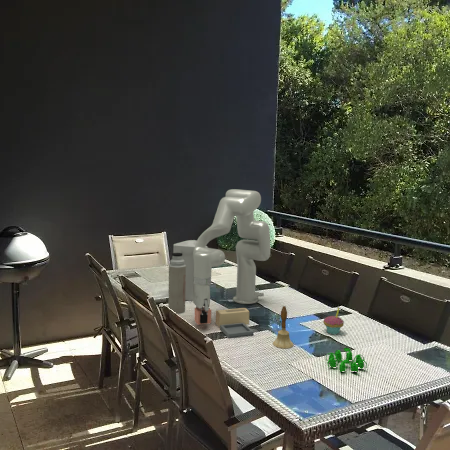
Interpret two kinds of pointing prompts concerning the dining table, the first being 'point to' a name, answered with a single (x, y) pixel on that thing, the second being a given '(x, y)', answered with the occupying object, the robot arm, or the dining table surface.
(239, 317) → the tan slotted block
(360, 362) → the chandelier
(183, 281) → the thermos bottle
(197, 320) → the stub
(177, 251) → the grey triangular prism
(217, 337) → the dining table surface
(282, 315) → the hand bell
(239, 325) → the tray
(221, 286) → the dining table surface
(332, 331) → the cupcake
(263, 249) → the robot arm
